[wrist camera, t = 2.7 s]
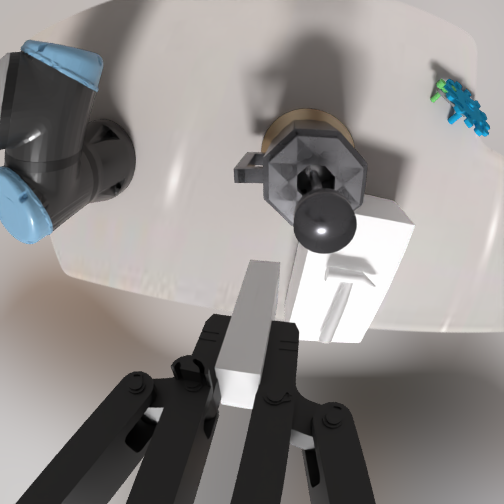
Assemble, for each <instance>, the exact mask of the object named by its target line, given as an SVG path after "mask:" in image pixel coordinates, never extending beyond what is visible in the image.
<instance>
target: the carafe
mask: <svg viewBox="0 0 504 504" xmlns="http://www.w3.org/2000/svg"><path fill="white" fill-rule="evenodd" d="M255 165H263V167H254V166H255ZM308 165H320V166H326V167H327V168H328V170H329V171H330V172H331V173H332V174H333V175H334V183H333V189H334V190H336V191H338V192H340V193H341V194H343V195H344V196H345V197H346V198H347V199H348V201H349V202H350V204H351V206H352V209H353V211H355V210H356V209H357V208H359V207H360V206H361V205H362V203H363V200H364V192H365V184H366V175H367V163H366V162H365V160H364V159H363V158H362V157H361V155H360V154H359V153H358V152H357V151H356V149H355V148H354V147H353V146H352V145H351V144H350V142H349V141H348V140H347V139H346V138H345V137H344V136H343V134H342V133H341V132H340V131H338V130H337V129H336V128H334V127H333V126H332V125H330V124H329V123H327V122H326V121H316V120H310V119H305V120H295V121H294V120H293V121H292V122H291V123H290V124H289V125H287V126H286V127H285V128H283V129H282V130H281V131H280V133H279V134H278V135H277V136H276V137H275V138H274V139H273V140H272V141H271V143H270V145H269V147H268V149H267V151H266V152H247V153H246V154H245V156H244V157H243V158H242V159H241V160H240V162H239V163H238V164H237V165H236V167H235V168H234V182H235V183H263V192H264V200H266V201H267V202H268V203H269V204H270V205H271V206H272V207H273V208H274V209H275V210H276V211H277V212H278V213H279V214H280V215H281V216H282V217H283V218H284V219H285V220H286V221H287V222H288V223H289V224H290V225H291V226H292V225H293V226H294V210H295V207H296V204H297V203H298V201H299V200H300V198H301V197H302V196H303V195H304V194H303V193H302V192H301V191H300V190H299V189H298V188H297V175H298V174H299V173H300V172H301V171H303V170H304V169H305V168H306V167H307V166H308Z"/></svg>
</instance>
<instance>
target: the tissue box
mask: <svg viewBox="0 0 504 504" xmlns="http://www.w3.org/2000/svg"><path fill="white" fill-rule="evenodd" d="M354 213H355V216H356V220H357V228H356V232H355V235H354V237H353V239H352V240H351V242H350V243H349V244H348V245H347V246H346V247H344V248H343V249H341V250H339V251H337V252H334V253H329V254H320V253H315V252H312V251H310V250H308V249H306V248H305V247H303V246H302V245H301V244H300V243H298V248H297V252H296V257H295V261H294V266H293V270H292V275H291V279H290V284H289V288H288V292H287V296H286V301H285V305H284V308H285V322H292V323H295V324H296V326H297V328H298V330H299V340H309V341H320V342H322V343H330V342H347V343H360V341H361V340H362V338H363V336H364V334H365V333H366V331H367V329H368V327H369V325H370V324H371V322H372V320H373V318H374V316H375V314H376V312H377V310H378V308H379V306H380V305H381V303H382V301H383V299H384V297H385V294H386V292H387V290H388V288H389V286H390V284H391V282H392V280H393V278H394V275H395V273H396V271H397V269H398V267H399V264H400V262H401V260H402V257H403V255H404V253H405V250H406V248H407V245H408V243H409V240H410V238H411V235H412V233H413V230H414V227H415V224H414V223H413V222H412V221H411V220H410V218H409V217H408V216H407V215H406V214H405V213H404V211H403V210H402V209H401V208H400V207H399V206H398V204H397V203H396V202H395V201H393V200H389V199H384V198H380V197H376V196H371V195H366V194H364V200H363V203H362V205H361V206H360V207H359V208H357V209H356V210H355V211H354Z"/></svg>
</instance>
